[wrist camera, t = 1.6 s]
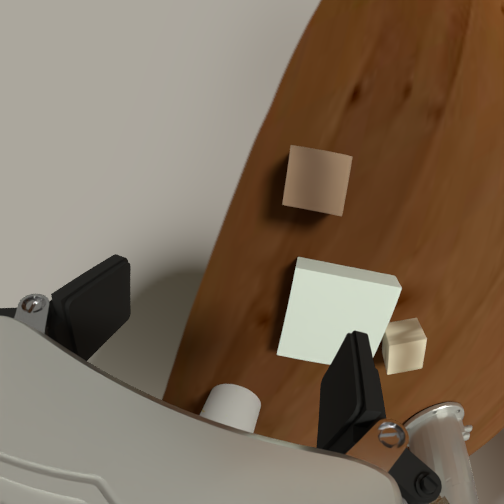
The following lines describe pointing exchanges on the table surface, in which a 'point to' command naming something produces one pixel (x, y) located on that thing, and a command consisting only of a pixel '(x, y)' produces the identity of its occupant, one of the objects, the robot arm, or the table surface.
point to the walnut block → (317, 180)
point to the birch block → (403, 346)
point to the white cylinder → (232, 407)
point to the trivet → (335, 309)
